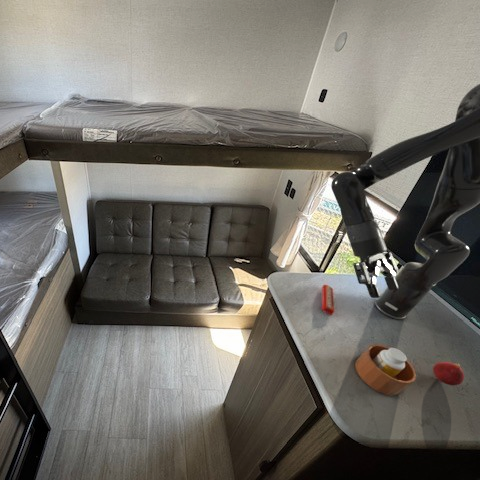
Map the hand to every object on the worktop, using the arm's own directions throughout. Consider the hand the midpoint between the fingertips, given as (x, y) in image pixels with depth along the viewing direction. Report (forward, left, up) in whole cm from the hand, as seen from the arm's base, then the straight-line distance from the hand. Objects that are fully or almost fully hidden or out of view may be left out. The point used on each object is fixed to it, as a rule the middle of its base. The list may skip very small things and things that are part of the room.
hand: (385, 293), depth 71 cm
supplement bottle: (+3, +11, -22) cm, 25 cm away
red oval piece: (-13, +19, -22) cm, 32 cm away
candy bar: (-9, -15, -22) cm, 28 cm away
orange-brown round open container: (+3, +11, -22) cm, 25 cm away
